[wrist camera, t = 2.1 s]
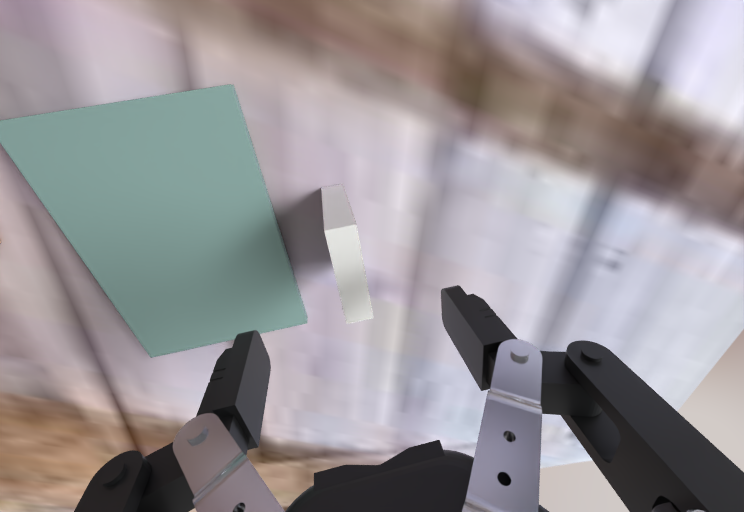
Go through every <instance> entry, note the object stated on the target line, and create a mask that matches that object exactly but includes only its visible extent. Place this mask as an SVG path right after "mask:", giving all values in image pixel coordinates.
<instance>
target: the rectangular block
mask: <svg viewBox="0 0 744 512" xmlns="http://www.w3.org/2000/svg"><path fill="white" fill-rule="evenodd" d="M321 192H322V206H323V220H324V232H325V236H326V240H327V244H328V249H329V253H330V257H331V261H332V265H333V269H334V273H335V278H336V282H337V286H338V290H339V294H340V298H341V303H342V307H343V311H344V315H345V319H346V323H347V324H350V323H354V322H359V321H363V320H368V319H372V318H373V312H372V307H371V301H370V296H369V290H368V285H367V279H366V274H365V268H364V263H363V257H362V252H361V246H360V241H359V235H358V230H357V224H356V221H355V218H354V215H353V212H352V209H351V206H350V203H349V200H348V197H347V194H346V191H345V188H344V185H343V184H339V185H333V186H328V187H323V188H321Z"/></svg>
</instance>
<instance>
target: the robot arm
mask: <svg viewBox="0 0 744 512" xmlns="http://www.w3.org/2000/svg"><path fill="white" fill-rule="evenodd" d="M441 304H442V320H443V324H444V327H445V329H446V331H447V333H448V334H449V336H450V338H451V340H452V341H453V343H454V345H455V346H456V348H457V350H458V352H459V353H460V355H461V357H462V358H463V360H464V362H465V364H466V365H467V367H468V369H469V371H470V372H471V374H472V376H473V377H474V379H475V381H476V383H477V384H478V386H479V388H480V389H481V391H483V390H487V389H490V391H488V394H487V398H486V403H485V408H484V413H483V417H482V422H481V427H480V432H479V437H478V442H477V447H476V452H475V456H474V458H473V457H471V456H469V455H466V454H464V453H460V452H457V451H451V450H443V449H442V446H441V443H440V440H436V441H433V442H429V443H425V444H421V445H418V446H414V447H410V448H408V449H406V450H405V451H403V452H401V453H400V454H398V455H396V456H395V457H393V458H391V459H389V460H388V461H386V462H384V463H383V464H381V465H343V466H339V467H335V468H332V469H328V470H324V471H320V472H317V473H314V485H313V486H311V487H310V488H308V489H307V490H306V491H304V492H303V493H302V494H301V495H300V496H299V497H298V498H297V499H295V501H294V502H293V503H292V504H291V505H290V506H289V507H288V509H287V510H286V511H284V510H283V508H282V507H281V505H280V504H279V503H278V501H277V500H276V498H275V497H274V495H273V494H272V492H271V491H270V490H269V488H268V487H267V485H266V484H265V482H264V481H263V479H262V478H261V477H260V475H259V474H258V472H257V471H256V469H255V468H254V466H253V465H252V464H251V462H250V461H249V459H248V458H247V456H246V454H247V450H249V449H253V448H257V447H258V446H259V440H260V433H261V427H262V421H263V415H264V408H265V402H266V396H267V389H268V383H269V377H270V370H271V366H270V359H269V355H268V353H267V351H266V348H265V346H264V343H263V341H262V339H261V336H260V334H259V332H258V331H257V330H253V331H248V332H244V333H239V334H237V336H236V338H235V341H234V344H233V347H232V348H229V349H226V350H225V351H224V352H223V353H222V355H221V356H220V357H219V358H218V360H217V362H216V365H215V367H214V370H213V373H212V375H211V378H210V382H209V383H208V386H207V389H206V392H205V394H204V397H203V400H202V402H201V405H200V408H199V410H198V413H197V416H196V417H195V418H193V419H191V420H190V421H189V422H187V423H186V424H185V425H184V426H183V427H182V428H181V429H180V430H179V432H178V433H177V435H176V437H175V439H174V441H173V442H172V443H171V444H169V445H167V446H165V447H163V448H161V449H159V450H157V451H155V452H154V453H152V454H150V455H148V456H146V457H144V456H143V455H142V454H141V453H140V452H138V451H127V452H124V453H122V454H120V455H118V456H116V457H114V458H113V459H111V460H110V461H108V462H107V463H106V464H105V465H104V466H103V467H102V468H101V469H100V470H99V471H98V472H97V473H96V474H95V475H94V477H93V478H92V480H91V481H90V483H89V485H88V486H87V488H86V490H85V492H84V494H83V496H82V498H81V500H80V501H79V503H78V505H77V507H76V509H75V511H74V512H189V511H190V510H192V509H194V508H195V509H196V511H197V512H549V511H547V510H546V509H545V508H543V507H542V506H541V505H539V480H540V454H541V427H542V414H556V415H561V416H562V418H563V419H564V420H565V422H566V423H567V425H568V426H569V427H570V429H571V430H572V432H573V433H574V434H575V436H576V437H577V439H578V440H579V441H580V443H581V444H582V446H583V447H584V448H585V450H586V451H587V453H588V454H589V455H590V457H591V458H592V460H593V461H594V462H595V464H596V465H597V466H598V468H599V469H600V471H601V472H602V473H603V475H604V476H605V478H606V479H607V480H608V482H609V483H610V485H611V486H612V487H613V489H614V490H615V491H616V493H617V494H618V496H619V497H620V498H621V500H622V501H623V503H624V504H625V506H626V507H627V508H628V510H629V511H630V512H744V472H743V471H741V470H740V469H739V468H738V467H737V466H736V465H735V464H734V463H733V462H732V461H731V460H729V459H728V458H727V457H726V456H725V455H724V454H723V453H722V452H721V451H719V450H718V449H717V448H716V447H715V446H714V445H713V444H712V443H710V441H709V440H708V439H706V438H705V437H704V436H703V435H702V434H701V433H700V432H699V431H698V430H697V429H695V428H694V427H693V426H692V425H691V424H690V423H689V422H688V421H687V420H685V418H683V417H682V416H681V415H680V414H679V413H678V412H677V411H676V410H675V409H674V408H672V407H671V406H670V405H669V404H668V403H667V402H666V401H665V400H664V399H663V398H662V397H660V396H659V395H658V394H657V393H656V392H655V391H654V390H653V389H652V388H651V387H649V386H648V385H647V384H646V383H645V382H644V381H643V380H642V379H641V378H640V377H639V376H637V375H636V374H635V373H634V372H633V371H632V370H631V369H630V368H629V367H628V366H626V365H625V364H624V363H623V362H622V361H621V360H620V359H619V358H618V357H617V356H616V355H614V354H613V353H612V352H611V351H610V350H609V349H607V348H606V347H604V346H602V345H600V344H597V343H594V342H590V341H575V342H572V343H571V344H569V345H568V347H567V351H566V352H547V351H539V350H538V348H537V347H535V346H534V345H533V344H531V343H529V342H526V341H523V340H519V339H517V338H516V337H515V336H514V334H513V333H512V332H511V331H510V330H509V329H508V327H507V326H506V325H505V324H504V323H503V322H502V320H501V319H500V318H499V317H498V316H496V313H495V312H494V311H493V310H492V309H491V308H490V307H489V305H488V304H487V303H486V302H485V301H484V300H483V299H482V298H480V297H478V296H476V295H474V294H470V295H467V294H466V293H465V292H464V291H463V289H462V288H461V287H460V286H459V285H457V286H453V287H448V288H444V289H442V290H441Z"/></svg>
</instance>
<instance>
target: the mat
mask: <svg viewBox="0 0 744 512" xmlns="http://www.w3.org/2000/svg"><path fill="white" fill-rule="evenodd" d="M0 143H1V144H2V146H3V147H4V149H5V150H6V152H7V153H8V154H9V156H10V157H11V159H12V160H13V162H14V163H15V164H16V166H17V167H18V169H19V170H20V172H21V173H22V174H23V176H24V177H25V179H26V180H27V182H28V183H29V184H30V186H31V187H32V189H33V190H34V192H35V193H36V194H37V196H38V197H39V199H40V200H41V202H42V203H43V204H44V206H45V207H46V209H47V210H48V212H49V213H50V214H51V216H52V217H53V219H54V220H55V222H56V223H57V224H58V226H59V227H60V229H61V230H62V232H63V233H64V234H65V236H66V237H67V239H68V240H69V242H70V243H71V244H72V246H73V247H74V249H75V250H76V252H77V253H78V254H79V256H80V257H81V259H82V260H83V262H84V263H85V264H86V266H87V267H88V269H89V270H90V272H91V273H92V274H93V276H94V277H95V279H96V280H97V282H98V283H99V284H100V286H101V287H102V289H103V290H104V292H105V293H106V294H107V296H108V297H109V299H110V300H111V302H112V303H113V304H114V306H115V307H116V309H117V310H118V312H119V313H120V314H121V316H122V317H123V319H124V320H125V322H126V323H127V324H128V326H129V327H130V329H131V330H132V332H133V333H134V334H135V336H136V337H137V339H138V340H139V342H140V343H141V344H142V346H143V347H144V349H145V350H146V352H147V353H148V354H149V356H150V357H151V358H152V357H156V356H161V355H166V354H170V353H175V352H179V351H184V350H188V349H193V348H197V347H202V346H206V345H211V344H215V343H220V342H224V341H229V340H234V339H235V338H236V336H237V334H239V333H244V332H248V331H253V330H257V331H258V332H259V334H261V333H265V332H270V331H274V330H279V329H283V328H288V327H292V326H297V325H302V324H306V323H307V314H306V311H305V308H304V305H303V302H302V299H301V295H300V292H299V289H298V286H297V283H296V280H295V277H294V273H293V270H292V267H291V264H290V261H289V258H288V255H287V251H286V248H285V245H284V242H283V239H282V236H281V233H280V229H279V226H278V223H277V220H276V217H275V214H274V211H273V207H272V204H271V201H270V198H269V195H268V192H267V189H266V185H265V182H264V179H263V176H262V173H261V170H260V167H259V163H258V160H257V157H256V154H255V151H254V148H253V145H252V141H251V138H250V135H249V132H248V129H247V126H246V123H245V119H244V116H243V113H242V110H241V107H240V104H239V101H238V97H237V94H236V91H235V88H234V85H231V84H230V85H223V86H217V87H211V88H204V89H198V90H192V91H185V92H179V93H173V94H166V95H160V96H154V97H147V98H141V99H135V100H128V101H122V102H115V103H109V104H103V105H96V106H90V107H84V108H77V109H71V110H65V111H58V112H52V113H46V114H39V115H33V116H27V117H20V118H14V119H7V120H1V121H0Z"/></svg>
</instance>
